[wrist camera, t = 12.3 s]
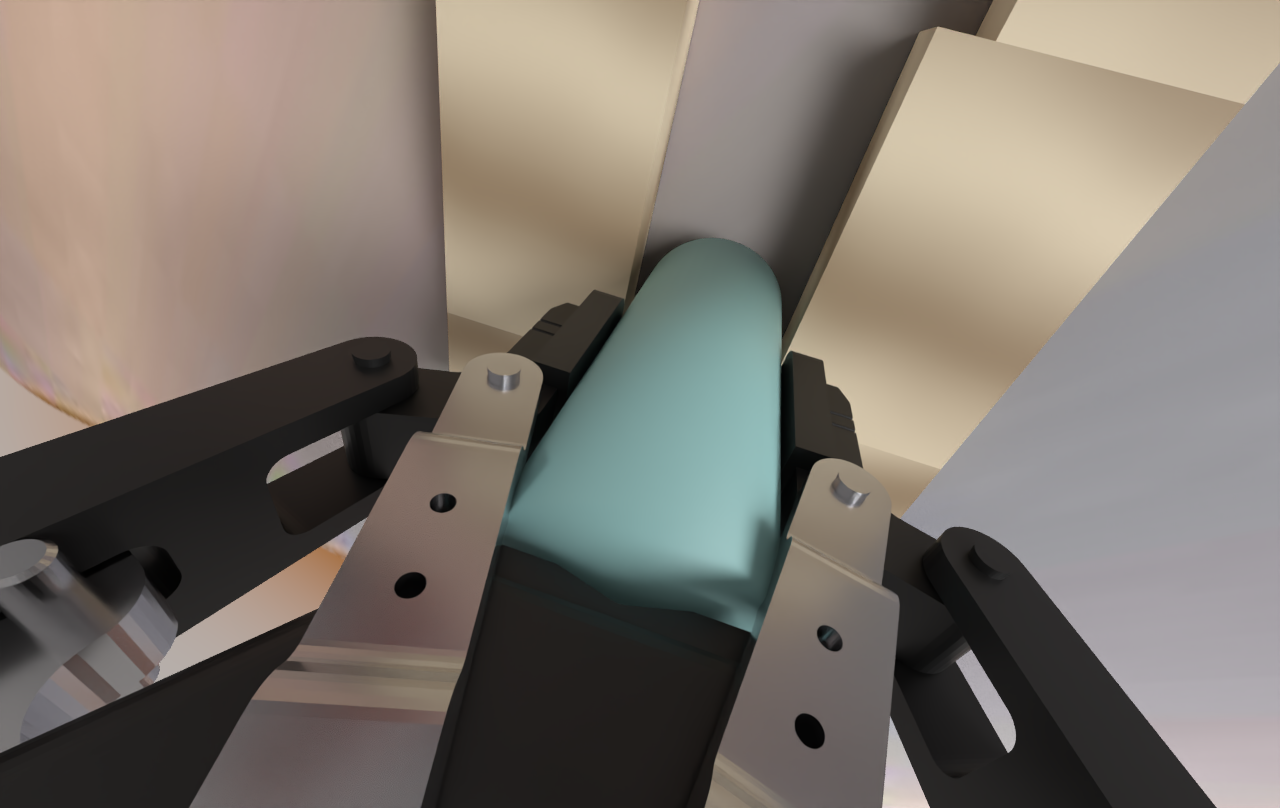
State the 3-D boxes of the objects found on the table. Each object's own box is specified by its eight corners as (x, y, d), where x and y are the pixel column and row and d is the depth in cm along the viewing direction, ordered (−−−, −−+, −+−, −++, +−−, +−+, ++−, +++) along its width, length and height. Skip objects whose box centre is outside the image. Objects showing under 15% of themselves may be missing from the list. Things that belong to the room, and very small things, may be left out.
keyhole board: (467, -1256, 5) (359, -1707, 4) (2141, -1138, 4) (2779, -1709, 3) (471, 366, 18) (446, 389, 17) (881, 499, 17) (889, 536, 16)
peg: (805, 262, 13) (842, 583, 5) (752, 383, 15) (718, 732, 7) (661, 220, 13) (467, 454, 5) (632, 344, 15) (469, 639, 7)
